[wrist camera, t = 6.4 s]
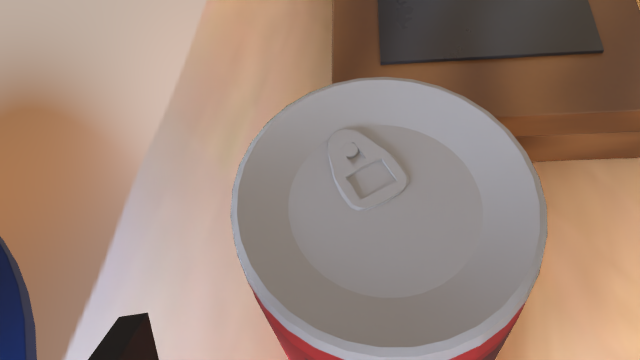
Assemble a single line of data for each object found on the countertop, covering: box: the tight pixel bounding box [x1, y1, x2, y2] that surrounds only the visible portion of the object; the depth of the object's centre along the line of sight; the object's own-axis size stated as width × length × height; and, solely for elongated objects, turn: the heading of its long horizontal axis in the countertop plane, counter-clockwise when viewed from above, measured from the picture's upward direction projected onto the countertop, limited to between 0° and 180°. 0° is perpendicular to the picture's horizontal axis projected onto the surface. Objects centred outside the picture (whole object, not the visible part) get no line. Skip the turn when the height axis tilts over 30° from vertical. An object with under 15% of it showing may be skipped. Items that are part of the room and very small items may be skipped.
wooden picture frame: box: [332, 0, 640, 161], centre depth 30 cm, size 14×16×4 cm
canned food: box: [231, 77, 547, 360], centre depth 19 cm, size 8×8×11 cm
